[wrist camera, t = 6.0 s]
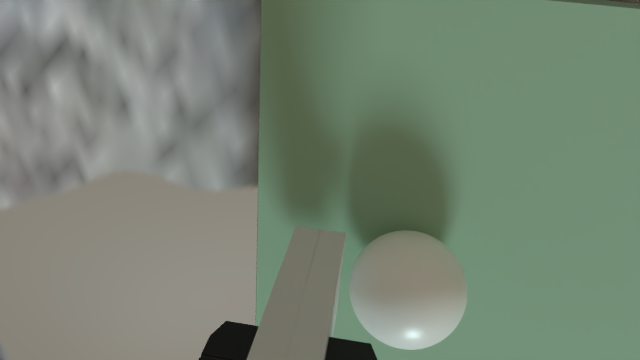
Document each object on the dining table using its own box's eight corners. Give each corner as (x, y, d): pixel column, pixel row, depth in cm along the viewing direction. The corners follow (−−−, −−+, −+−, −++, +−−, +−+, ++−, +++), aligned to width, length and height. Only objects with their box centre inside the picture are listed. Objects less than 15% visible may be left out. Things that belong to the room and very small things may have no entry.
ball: (348, 286, 16) (338, 364, 13) (360, 202, 14) (351, 269, 11) (447, 302, 16) (460, 386, 13) (470, 217, 14) (491, 290, 11)
